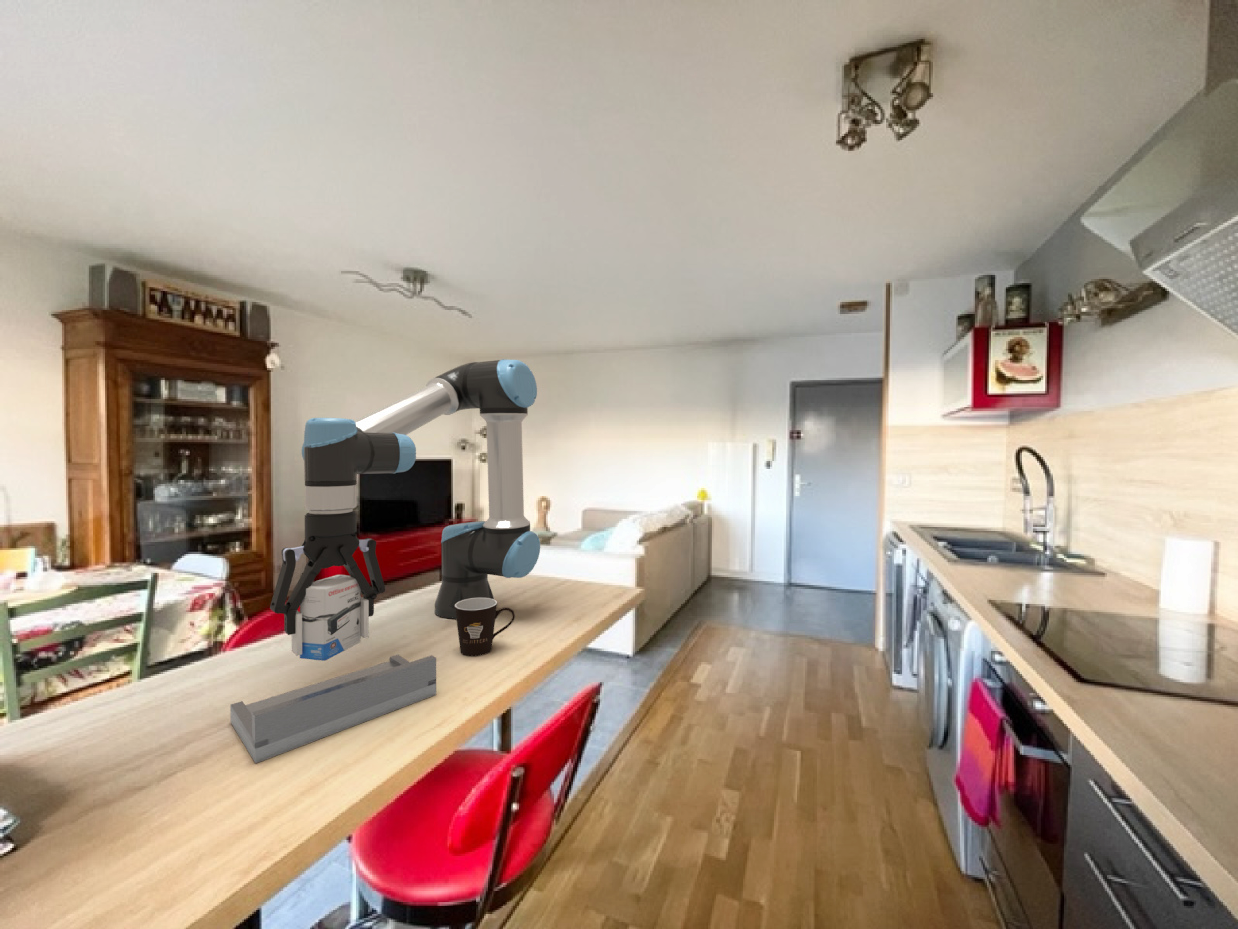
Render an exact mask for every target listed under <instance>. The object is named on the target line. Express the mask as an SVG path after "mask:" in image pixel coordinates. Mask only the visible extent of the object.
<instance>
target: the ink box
mask: <svg viewBox="0 0 1238 929" xmlns="http://www.w3.org/2000/svg"><path fill="white" fill-rule="evenodd" d="M361 596H362V593H361V588H360V586H359V584H358V582H357V581H356V579H355V578H353V577H351V576H350V575H348V574H347V575H346V574H335V575H332V576H329V577H325V578H322V579H319V580H316V581H315V580H314V581H313V583H312V584H311V586H310V587H309V588H306V595H305V597H304V599H303V601H302V603H301V604H300V606H299V612H300V613H302V655H299V659H304V660H305V659H306V660H311V661H312V660H314V661H323V662H325V661H327V660H329V659H331V658H333V657H334V656H335V657H336V656H337V655H338V654H340V653H343V652H345V651H346V650H349V649H350V648H352V647H354V646H356V645H358V644H360V643H361V642H362V639H361V638H362V637H361Z"/></svg>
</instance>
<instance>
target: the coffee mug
mask: <svg viewBox="0 0 1238 929" xmlns="http://www.w3.org/2000/svg"><path fill="white" fill-rule="evenodd" d="M497 608H498V601H497V600H496V599H495V598H494V599H491V598H470V599H465V600H462V601H459V602H457V603H456V604H455V611H456V628H457V635H458V642H459V650H460V654H461V655H462V656H466V657H479V656H483V655H487V654H489V653H491V652H492V648H493V641H494V639H495V637H496V636H498V635H499V634H500V633H502V632H504V631H506V629H508V628H509V627H510V626H511V625H512V624H513V622H514V621H515V618H516V615H515V612H514V610H513V609H512V608H510V607H501V608H499V609H497ZM503 611H508V612H510V613H511V615H512V618H511V619H510V621H509V622H508V623H507V624H506V625H505V626H504V627H502V628H500V629H499V630H498V631H496V632H495V625H496V624H495V623H496V619H497V618H498V617H499V615H500V613H501V612H503Z"/></svg>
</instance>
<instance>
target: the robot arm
mask: <svg viewBox="0 0 1238 929" xmlns="http://www.w3.org/2000/svg"><path fill="white" fill-rule="evenodd" d="M537 385H538V384H537V381H536V378H535V375H534V374H533V371H532V370H531V369H530V367H529V366H528V365H527V364H526V363H525V362H523V361H521V360H519V359H507V358H505V359H504V358H503V359H502V358H501V359H497V360H487V361H476V362H475V361H473V362H467V363H464V364H461V365H459V366H457V367H454V368H451V369H450V370H448V371H446V372H444V373H442V374H440V375H437V376H435V377H433V378H431V379H429V380H428V381H427V383H426V385H425V387H421V388H420V389H418V390H416V391H414V392H412V393H409V394H408V395H406V396H404V397H401V398H399V399H398V400H396V401H393V402H391V403H389V404H387V405H385V406H383V407H381V408H379V409H376V410H375V411H372V412H370V413H369V414H366V415H365V416H362V417H360V418H358V419H356V420H354V419H352V418H351V419H350V418H339V417H338V418H337V417H313V418H309V419H308V420H306V422H305V425H304V431H303V432H304V434H303V435H304V436H303V443H302V447H301V457H302V459H303V461H304V462H303V464H304V467H303V468H304V469H303V470H304V510H306V511H308V512H306V513H305V514H304V540H303V543H302V545H301V546H295V547H291V548H289V547H284V548H282V550H281V553H280V554H281V560H282V564H281V567H280V570H279V573H278V577H277V580H276V585H275V589H274V591H273V594H272V595H273V596H272V598H271V602H270V606H269V608H270V610H271V611H272V612H274V613H275V614H278V615H279V614H280V615H281V614H283V615H284V616H283V617H284V619H283V621H284V623H283V624H284V626H283V628H284V629H283V630H284V632H285V634H286V635H287V636H290V635H291V652H292V653H293V654H295V656H297V657H298V656H300V655H302V613H300V610H299V609H300V604H301V603H302V601H303V599H304V597H305V595H306V588H309V587H310V586H311V584H312V583H313V582H315V579H316V576H317V575H319V574H320V572H321V570H322V569H330V568H331V567H341V566H343V567H344V568H345V570H346V572H348V574H349V576H351V577H353V578H355V579H356V581H357V582H358V584H359V586H360V588H361V595H362V597H361V638H362V639H367V638H370V637H369V635H370V634H369V631H370V630H369V629H370V628H369V627H370V626H369V625H370V624H369V623H370V622H369V620H370V617H373V616H374V614H375V600H376V599H377V596H378V595H380V594H383V593H385V591H386V586H385V582H384V578H383V576H382V572H381V567H380V564H379V561H378V558H377V554H376V550H377V540H375V539H373V538H370V537H367V538H364V539H359V538H358V537H357V527H358V526H357V520H358V519H357V517H358V516H357V515H358V514H357V512H356V511H355V510H354V509H356V508H357V504H358V503H357V498H358V497H357V483H358V482H357V479H358V478H357V476H358V475H362V474H363V475H365V474H371V475H372V474H396V473H404V472H407V471H409V470H410V469H411V468H412V467H413V466H414V464H415V462H416V460H417V447H416V444H415V442H414V441H413V440H412V438H411V437H409V434H411V433H412V432H414V431H416V430H417V429H419V428H422V427H423V426H425V425H426V424H428V423H430V422H432V421H433V420H435V419H437V418H439V417H441V416H443V415H445V416H450V415H453V414H455V413H457V412H459V411H462V410H470V409H472V410H474V409H479V416H480V417H481V418H482V419H483V420H484V421H485V422H486V453H487V455H486V456H487V486H488V487H487V488H488V490H487V491H488V518H487V519H486V521H482V520H481V521H470V522H461V523H457V524H450V525H447V526H445V527H444V528H443V529H442V532H441V541H440V546H441V547H440V548H441V549H440V550H441V552H440V553H441V554H440V555H441V584H440V587H439V591H438V594H437V595H436V600H435V603H434V614H435V613H436V614H435V615H436V616H438V617H440V616H441V617H440V618H446V619H453V620H455V619H456V611H455V604H456V603H457V602H459V601H462V600H465V599H470V598H491V599H494V600H495V597H494V595H493V591H492V588H491V586H490V582H489V576H488V575H491V576H498V577H504V578H507V579H510V578H512V579H513V578H515V579H517V578H518V579H519V578H525V577H527V575H529V574H530V573H531V572H532V570H534V567H535V566H536V565H537V562H538V561H539V560H538V559H539V558H540V553H541V552H540V551H541V540H540V538H539V535H538V534H537V533H536V532H534V531H531V522H530V520H529V519H528V518H526V516H525V508H524V507H525V506H524V465H523V464H524V463H523V457H524V456H523V426H522V424H523V423H522V422H523V421H524V420H525V419H526V417H527V416H528V412H529V410H528V409H529V408H530V407H531V406H532V405H534V403H535V402H536V399H537V396H538V388H537V387H538V386H537ZM358 547H359V550H360V551H361V552H362V555H363V559H364V562H365V566H366V568H367V573H368V576H369V579H370V583H371V585H370V584H369V582H368V580H367V579H366V578H365V576H364V574H363V573H362V571H361V569H360V568H359V566H358V563H357V562H356V560H355V558H354V557H353V554H355V552H356V550H358ZM303 554H304V555H305V556H306V558H307V559H308V561H307V563H306V565H305V566H304V570H303V571H302V574H301V576H300V577H299V579H298V581H297V583H296V585H295V586H294V588H293V590H292V591H291V593H290V595H289V597H288V594H289V591H290V587H291V585H292V580H293V577H294V573H295V570H296V569H295V568H296V562H298V561H299V560H300V559H301V555H303ZM287 598H288V599H287Z"/></svg>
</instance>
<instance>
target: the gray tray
mask: <svg viewBox="0 0 1238 929" xmlns="http://www.w3.org/2000/svg"><path fill="white" fill-rule="evenodd" d="M436 695H437V657H435V656H434V655H429V656H425V657H422V658H419V659H416V660H415V659H414V660H412V661H409V660H407V659H405V658H404V657H402V656H401V655H399V654H395V655H391V656H389V661H386V662H382V663H379V664H376V665H372V666H369V667H366V668H362V669H359V670H356V671H353V672H350V673H346V674H342V675H340V676H336V677H333V678H328V679H327V680H324V681H320V682H317V683H314V684H310V685H306V686H303V687H300V688H296V689H294V690H291V691H287V692H283V693H281V694H277V695H275V696H271V697H268V698H265V699H261V700H257V701H254V702H252V703H249V704H245V703H244V701H238V702H234V703H231V704H230V706H229V708H230V724H231V725H232V727H233V729H234V730H235V732H236V734H237V736H238V737H239V738H240V740H241V742H242V743H243V745H244V747H245V749H246V751H247V752H248V754H249V756H250V757H251V759H252V760H253V762H254V764H258V763H261V762H263V761H266V760H268V759H271V758H273V757H276V756H279V755H281V754H284V753H287V752H289V751H292V750H295V749H298V748H300V747H302V746H305V745H308V744H310V743H313V742H316V741H318V740H322V739H325V737H328V736H331V735H334V734H337V733H339V732H341V731H345V730H348V729H351V728H353V727H355V726H358V725H361V724H363V723H365V722H368V721H371V720H373V719H376V718H379V717H381V716H384V715H386V714H389V713H392V712H394V711H397V710H400V709H403V708H405V707H409V705H412V704H415V703H418V702H421V701H423V700H426V699H428V698H430V697H434V696H436Z"/></svg>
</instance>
